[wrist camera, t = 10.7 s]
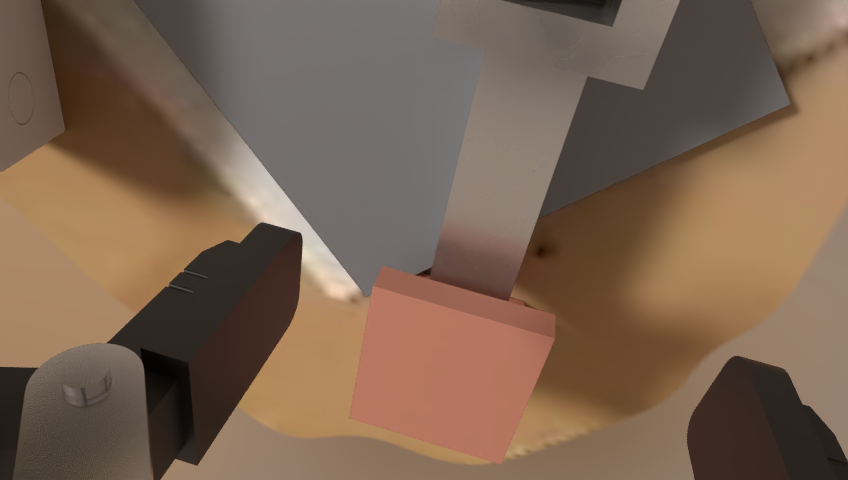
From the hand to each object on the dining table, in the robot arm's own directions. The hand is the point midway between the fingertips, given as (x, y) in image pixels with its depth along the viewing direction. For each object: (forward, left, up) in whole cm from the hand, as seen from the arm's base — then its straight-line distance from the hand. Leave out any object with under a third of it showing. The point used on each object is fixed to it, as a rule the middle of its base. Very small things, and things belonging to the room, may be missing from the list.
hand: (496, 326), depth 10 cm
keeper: (+5, +5, -14) cm, 16 cm away
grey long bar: (0, -1, -13) cm, 13 cm away
